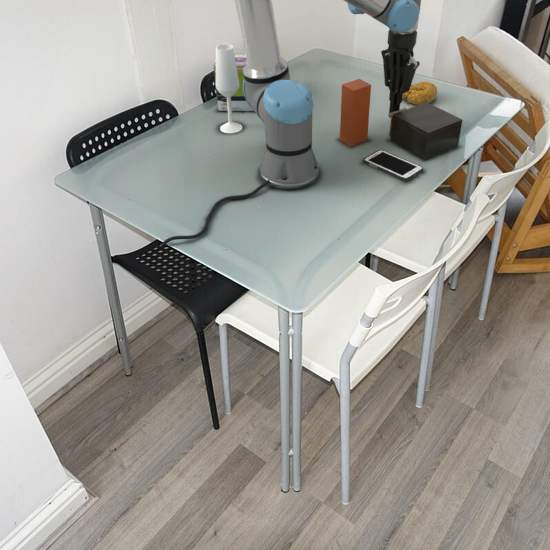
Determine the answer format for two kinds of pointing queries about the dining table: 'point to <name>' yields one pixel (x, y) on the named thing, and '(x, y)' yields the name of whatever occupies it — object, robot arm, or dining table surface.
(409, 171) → the cell phone
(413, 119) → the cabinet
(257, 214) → the dining table surface
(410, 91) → the bagel
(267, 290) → the dining table surface
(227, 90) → the champagne flute
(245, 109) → the tea box
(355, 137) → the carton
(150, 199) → the dining table surface
